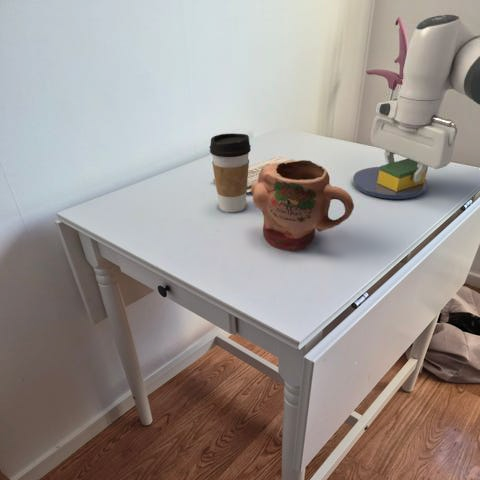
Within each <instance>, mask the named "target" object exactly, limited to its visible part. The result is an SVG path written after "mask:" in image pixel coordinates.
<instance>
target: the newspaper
mask: <svg viewBox="0 0 480 480" xmlns="http://www.w3.org/2000/svg"><path fill="white" fill-rule="evenodd" d="M288 161H298V160H297V159H294V158H290V157H284V156H276V157H273V158H270V159H267V160H265V161H262V162H258V163H256V164H253V165H251V166H250V165H249V168H248V180H247V191H246V193H250V192H251V187H252V185H253V184H254V183H255V182H256V181H258V177H259V173H260V171H261V170H262V168H264V167H266V166H268V165H270V164H272V163H282V162H288ZM212 180H213V183H214V184H216V182H215V178H213V179H212Z"/></svg>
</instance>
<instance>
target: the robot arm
mask: <svg viewBox="0 0 480 480" xmlns="http://www.w3.org/2000/svg"><path fill="white" fill-rule="evenodd" d="M402 75H403V79H402V84H401V86H400V88H399V91H398V95H397V98H393V99H390V100H386V101H382V102H379V103H377V105H376V110H375V111H376V114H377V115H375V117H374V119H373V122H372V126H371V132H370V142H371V145H372V146H374V147H376V148H379V149H381V150H384V158H385V162H386V164H390V163H393V162H395V155H398V156H400V157H403V158H404V159H410V160H413V161H416V162H418V165H417V167H418V168H419V169H418V170H417V171H416V172H413V173H411V177H410V180H411V181H413V182H418V181H420V179H421V175H422V173H423V172H424V171H425V170H426V169H427V168H428V169H429V168H431V169H435V170H440V169H443V168H445V167H447V166H448V165H449V164H451V162H452V158H453V154H454V149H455V142H456V138H457V135H458V128H457V125H456V124H455V123H454V121H453V120H451V119H449V118H448V119H446V118H443V117H441V116H439V115H440V113H441V108H442V105H443V102H444V99H445V98H444V97H445V94H446V92H447V91H448V90H453V91H455V92H457V93H459V94H461V95H463V96H466V97H468V98H469V99H470V100H471V101H473V102H474V103H476V104H477V105H478V106H479V105H480V33H477V32H476V31H474V30H473V29H470V28H469V27H468V26H466V25H465V23H463V22H462V21H461V18H460V16H458V15H455V14H444V15H435V16H431V17H428V18H425V19H423V20H422V21H420V22H419V23H418V24H417V26H416V27H415V29H414V30H413V33H412V35H411V38H410V40H409V44H408V48H407V52H406V55H405V59H404V65H403V69H402Z"/></svg>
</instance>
